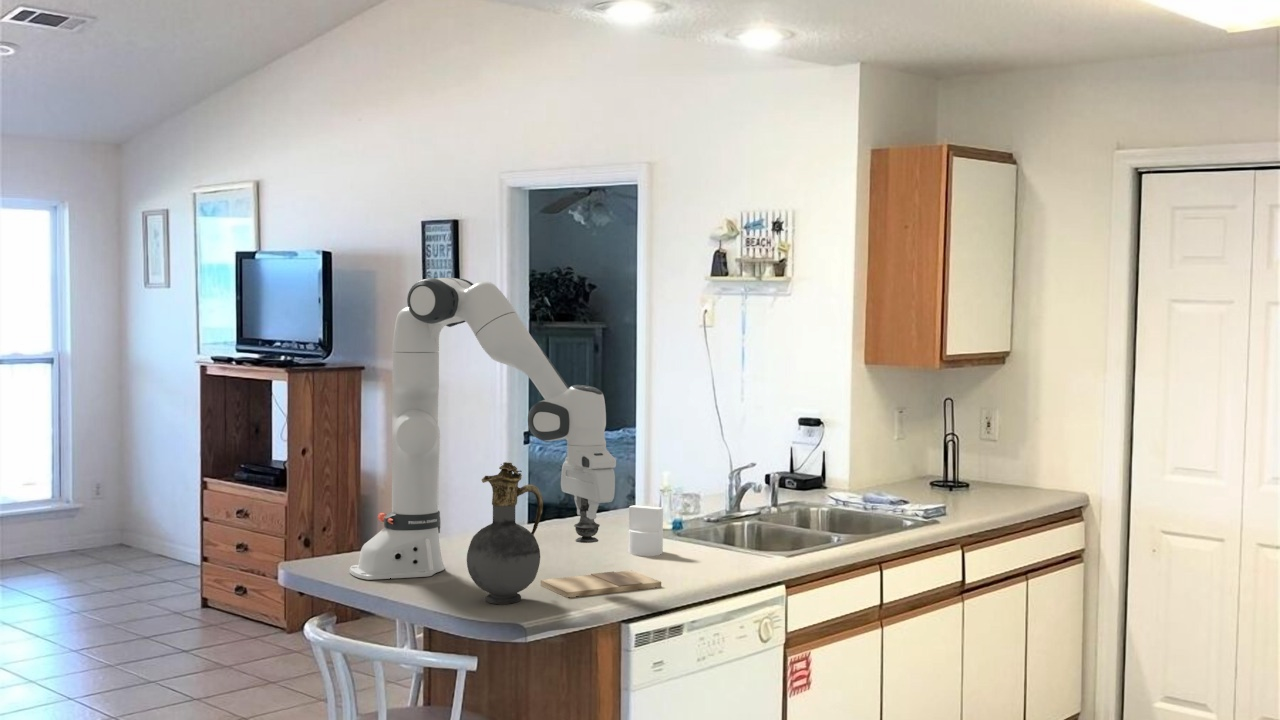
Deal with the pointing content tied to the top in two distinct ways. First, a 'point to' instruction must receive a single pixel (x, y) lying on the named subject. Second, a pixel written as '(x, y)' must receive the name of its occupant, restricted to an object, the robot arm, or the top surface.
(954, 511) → the top surface
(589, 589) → the plywood board
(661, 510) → the white canister
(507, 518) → the pitcher
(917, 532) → the top surface
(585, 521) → the salt shaker
